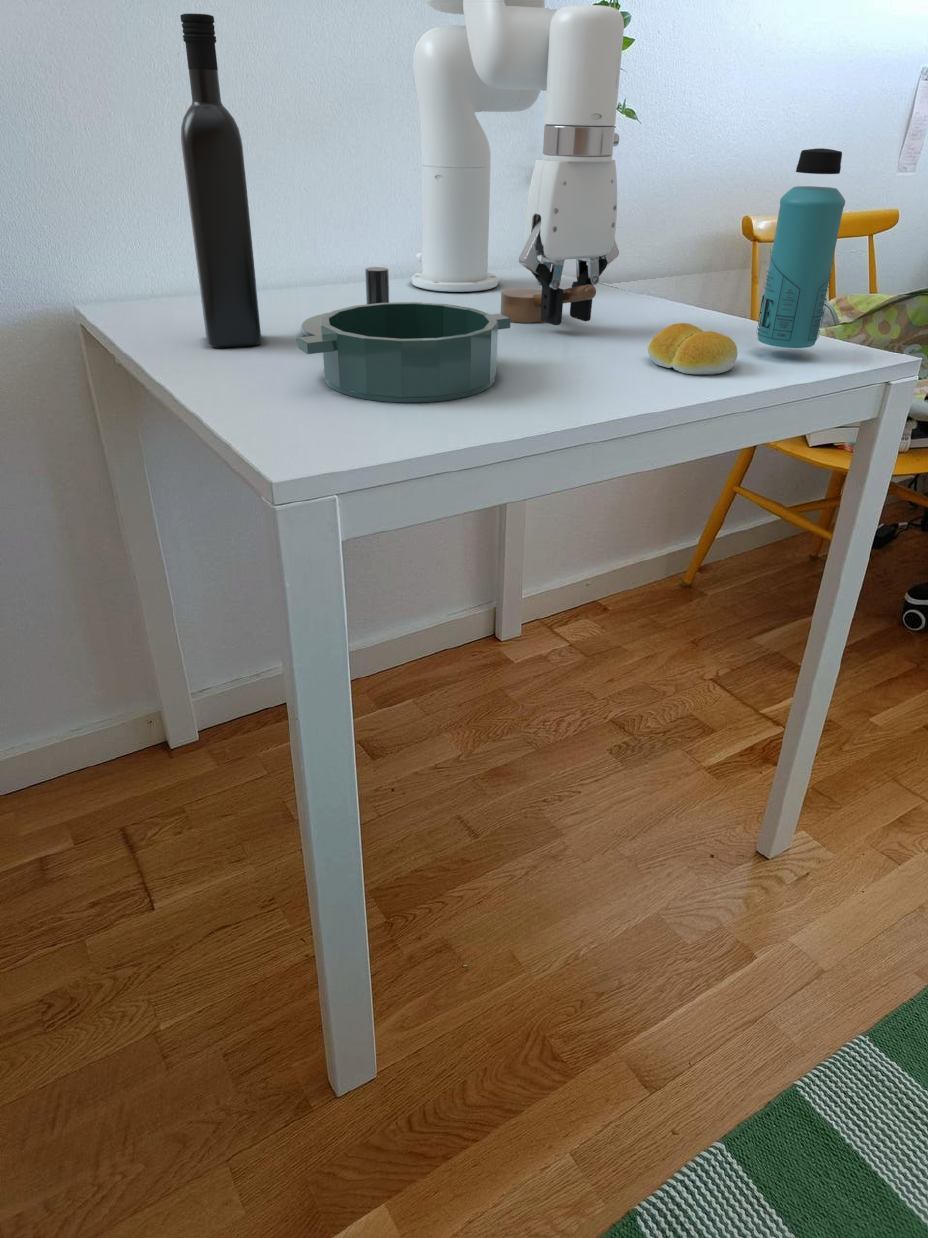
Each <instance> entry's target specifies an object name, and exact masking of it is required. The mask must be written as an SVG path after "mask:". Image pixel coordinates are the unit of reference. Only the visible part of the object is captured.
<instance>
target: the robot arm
mask: <svg viewBox="0 0 928 1238" xmlns="http://www.w3.org/2000/svg"><path fill="white" fill-rule="evenodd" d="M425 1H426V3H427V4H428V5H429V6H430V7H431V8H432V9H433V10H436V11H438V12H441V13H445V14H450V15H451V14H452V15H463V18H464V23H465V25H458V24H457V25H455V24H453V25H452V24H450V25H449V24H448V25H440V26H436V27H433V28H431V29H429V30H426V32H424V33H423V34H422V35H421V37H420V38H419V39H418V41H417V42H416V45H415V46H414V47H415V48H414V51H413V57H412V65H413V66H412V67H413V68H412V70H413V78H414V86H415V91H416V92H415V93H416V98H417V105H418V113H419V114H418V115H419V124H420V125H419V126H420V144H421V145H420V153H421V154H420V155H421V156H420V157H421V244H422V245H421V251H419V252H417V253H416V255H415V259H416V261H417V262H419V263H421V271H419V272H416V273H414V274H413V275H412V276H411V284H412V285H413V287H416V288H419V289H422V290H427V291H434V292H435V291H436V292H449V293H450V292H453V293H466V292H480V291H486V290H487V291H488V290H491V289H495V288H496V287H497V286H498V284H499V277H498V276H497V275H496V274H493V273H491V272H488V269H489V268H488V267H489V234H490V233H489V232H490V231H489V229H490V198H491V195H490V194H491V162H492V161H491V159H492V158H491V156H492V155H491V147H490V142H489V139H488V136H487V135H486V133H485V130H484V128H483V126H482V125H481V123H480V121H479V120H478V117H477V115H476V113H481V112H482V113H483V112H484V113H485V112H486V113H487V112H488V113H491V112H495V113H498V112H499V113H510V112H511V113H513V112H514V113H515V112H522V111H526V110H528V109H529V108H531V107H532V106H533V105H534V104H535V103H536V101H537V100H538V98H539V96H540V93H541V91H544V92H545V91H546V92H545V107H544V108H545V109H544V127H543V128H544V129H543V145H542V146H543V147H542V158H537V159H536V160H535V164H534V166H533V171H532V175H531V180H530V185H529V189H528V195H527V202H526V210H525V219H524V230H523V231H524V232H523V249H522V251H521V253H520V255H519V256H518V262H519V264H520V265H521V266H522V267H524V268H525V269H527V270H528V271H530V272H531V274H532V275H533V276H534V278H535V279H536V281H537V284H538V286H539V287H541V290H542V296H541V320H542V322H543V323H547V324H550V325H553V326H560V325H561V324H562V322H563V306H564V304H563V294H564V292H563V289H564V288H560V287H561V282H562V281H561V280H562V275H563V270H564V266H565V265H564V264H565V261H567V260H575V272H576V273H575V274H576V275H575V276H576V281H572V283H571V288H572V287H577V286H583V285H589V284H590V285H593V286H594V287H595V286H596V285H598V284H599V282H600V276H601V275H602V274H603V272H604V271H605V270H606V269H607V267H608V265H610V264H611V263H612V262H613V261H615V260H616V259H617V258H618V257H619V254H620V250H619V248H618V244H617V241H616V239H615V238H616V229H617V218H618V217H617V216H618V214H617V213H618V177H617V165H616V160H615V159H613V153H614V147H617V146H619V142H620V136H619V134H618V133H617V132H616V120H617V119H616V118H617V108H618V98H619V88H620V87H619V86H620V77H621V76H620V75H621V65H622V53H623V43H624V32H625V22H624V16H623V14H622V13H621V11H620V10H618V8H615V7H613V6H608V5H599V4H577V5H575V4H574V5H573V4H572V5H567V6H562V7H561V8H558V9H557V8H549V7H545V6H546V4H545V2H546V1H545V0H425ZM540 256H541V259H540V260H539V258H538V257H540ZM569 305H570V307H569V316H570V317H571V318H573V319H576V320H579V321H582V322H590V321H591V318H592V308H593V299H590V300H583V301H577V302H570V304H569Z"/></svg>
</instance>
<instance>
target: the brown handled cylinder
mask: <svg viewBox="0 0 928 1238" xmlns="http://www.w3.org/2000/svg"><path fill="white" fill-rule="evenodd" d="M562 289H563V292H564V294H563V305H564V304H569V303H570V304H571V302H577V301H583V300H590V299H592V300H594V298H595V297H596V295H597V288H596V286H595V285H594V286H593V285H590V284H589V285H583V286H577V287H572V286H571V287H567V288H562ZM541 296H542V289H538V288H529V287H528V288H527V287H526V288H524V287H520V288H519V287H518V288H508V289H504V290H501V292H500V311H499V312H500V313H499V314H500V315H503V316H506V317H508V318H511V321H510V323H518V324H535V323H536V324H537V323H543V321H542V320H541Z"/></svg>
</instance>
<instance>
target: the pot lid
mask: <svg viewBox="0 0 928 1238" xmlns="http://www.w3.org/2000/svg"><path fill="white" fill-rule="evenodd" d="M364 271H365V273H364V274H365V275H364V276H365V294H366V295H365V300H366V304H376V303H390V275H389V272H390V270H389V268H387V267H384V266H369V267H366V268H365V270H364ZM330 312H331V311H330ZM330 312H325V313H324V312H323V313H321V314H316V315H314V316H311V317H309V318H307V319H305V320H304V321H303V322H302V323H301V326H300V327H301V332H302V333H303V334H304V335H305V337H307V336H316V335H321V321H320V318H322V317H323V316H325V315H327V314H328V313H330Z"/></svg>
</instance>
